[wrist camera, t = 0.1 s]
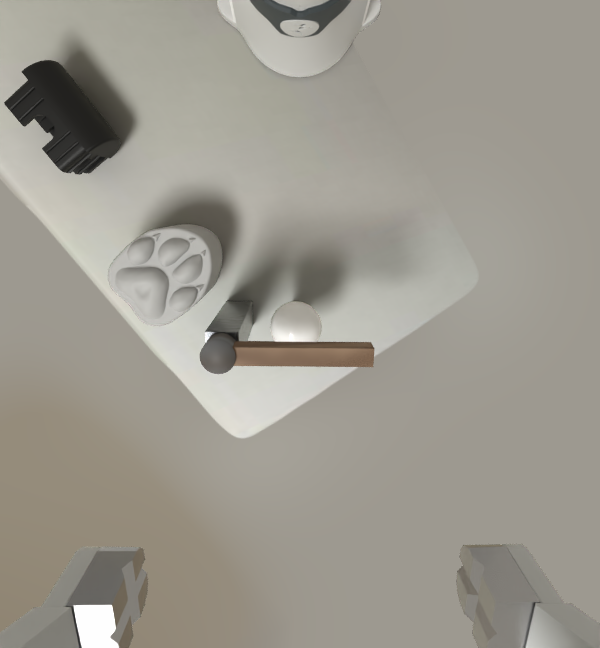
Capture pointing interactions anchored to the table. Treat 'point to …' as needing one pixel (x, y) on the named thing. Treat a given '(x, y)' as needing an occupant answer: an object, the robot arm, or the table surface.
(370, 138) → the table surface
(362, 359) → the hammer
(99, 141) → the end cap
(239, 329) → the post
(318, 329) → the lightbulb
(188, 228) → the lumpy-topped squat cylinder
